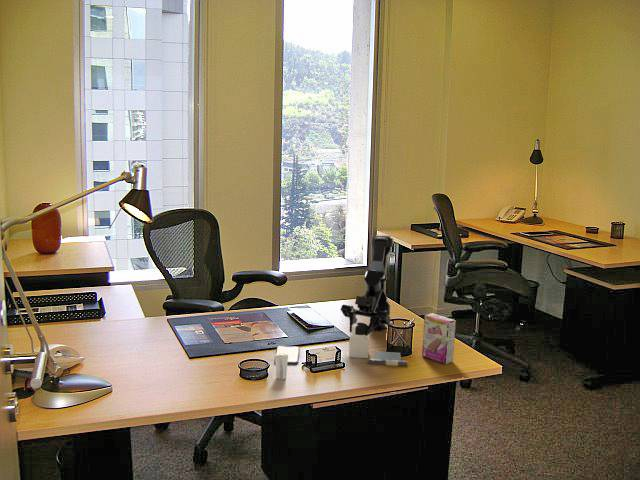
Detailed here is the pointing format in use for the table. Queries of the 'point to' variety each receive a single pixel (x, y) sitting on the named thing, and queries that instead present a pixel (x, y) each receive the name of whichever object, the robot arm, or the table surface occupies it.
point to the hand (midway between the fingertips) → (358, 333)
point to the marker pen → (387, 362)
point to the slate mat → (387, 355)
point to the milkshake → (281, 364)
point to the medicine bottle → (359, 341)
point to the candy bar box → (438, 338)
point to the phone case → (290, 354)
